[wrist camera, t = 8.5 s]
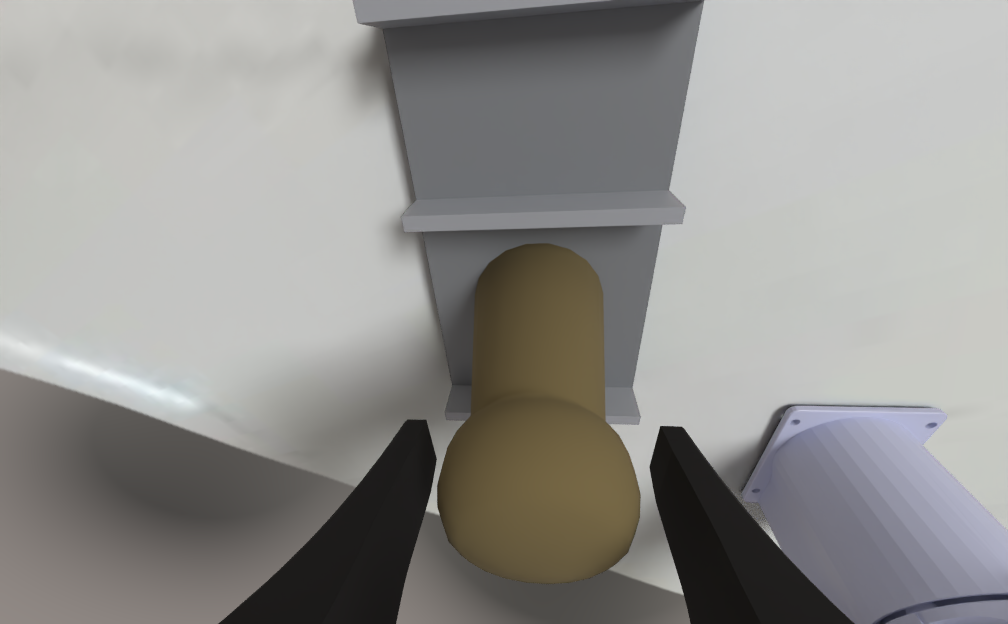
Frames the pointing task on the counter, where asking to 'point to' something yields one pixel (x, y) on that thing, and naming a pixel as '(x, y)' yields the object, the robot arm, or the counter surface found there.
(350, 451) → the counter surface
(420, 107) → the rack
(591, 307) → the cork
